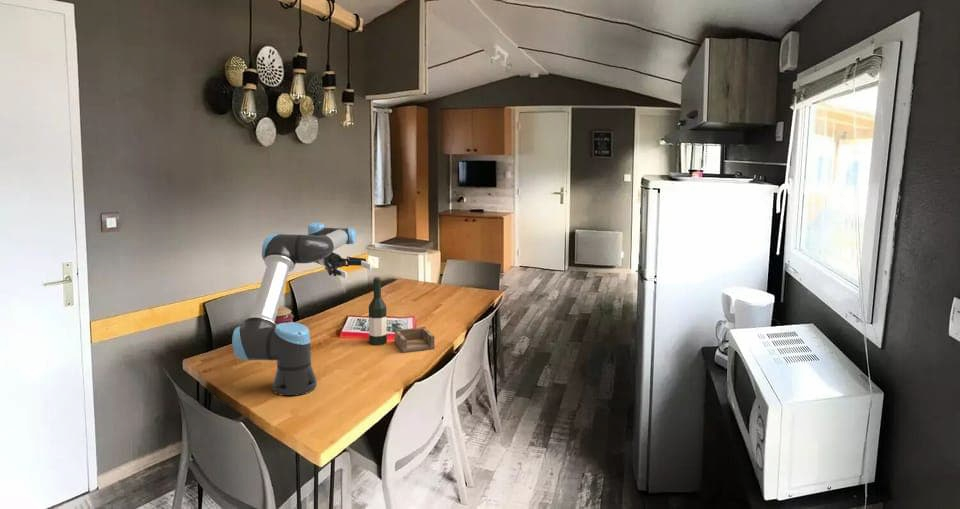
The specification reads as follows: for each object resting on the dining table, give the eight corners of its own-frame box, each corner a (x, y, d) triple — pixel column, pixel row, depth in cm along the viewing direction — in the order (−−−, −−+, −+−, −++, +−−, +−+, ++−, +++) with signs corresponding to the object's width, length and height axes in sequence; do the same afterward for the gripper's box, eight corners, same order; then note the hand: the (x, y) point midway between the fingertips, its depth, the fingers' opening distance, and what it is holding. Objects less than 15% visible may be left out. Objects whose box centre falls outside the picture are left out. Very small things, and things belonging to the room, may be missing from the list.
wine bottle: (383, 346, 246) (382, 280, 241) (365, 344, 248) (364, 278, 242) (390, 340, 254) (389, 276, 249) (372, 338, 256) (371, 274, 250)
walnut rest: (434, 349, 244) (434, 336, 243) (403, 353, 238) (403, 340, 237) (424, 339, 257) (424, 326, 255) (394, 342, 251) (394, 330, 250)
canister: (263, 339, 252) (261, 301, 249) (294, 336, 257) (292, 299, 253) (263, 349, 240) (261, 309, 237) (295, 345, 245) (293, 307, 242)
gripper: (352, 260, 271) (380, 271, 258) (307, 274, 253) (336, 286, 240) (351, 246, 269) (380, 256, 256) (306, 259, 251) (334, 270, 238)
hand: (358, 271), depth 248 cm, fingers open, 13 cm apart
